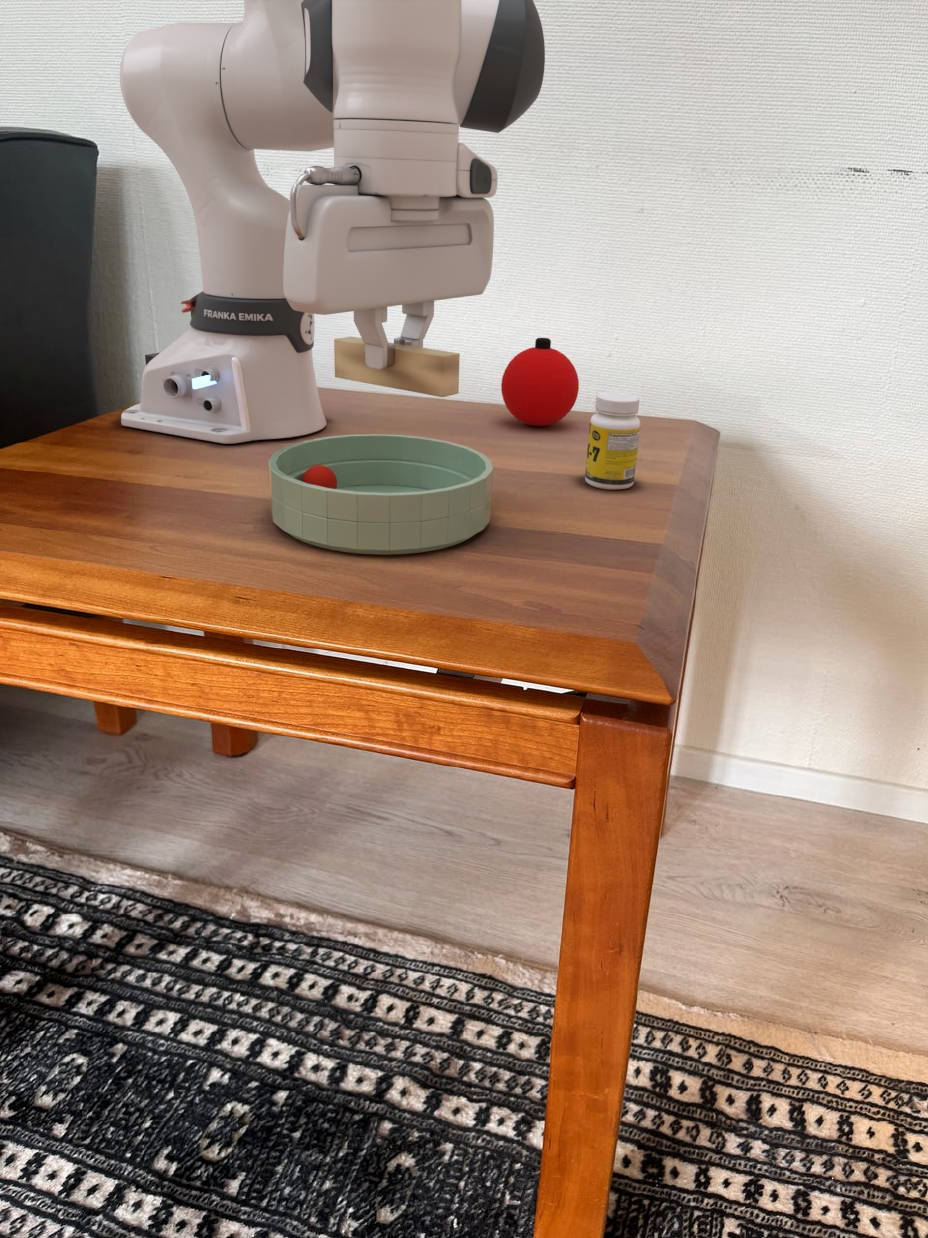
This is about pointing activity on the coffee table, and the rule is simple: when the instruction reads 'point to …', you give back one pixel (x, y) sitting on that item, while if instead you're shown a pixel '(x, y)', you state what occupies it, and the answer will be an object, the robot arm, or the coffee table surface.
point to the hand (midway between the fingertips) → (394, 364)
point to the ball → (320, 477)
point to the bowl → (382, 493)
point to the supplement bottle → (613, 441)
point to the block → (400, 368)
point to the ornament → (540, 385)
